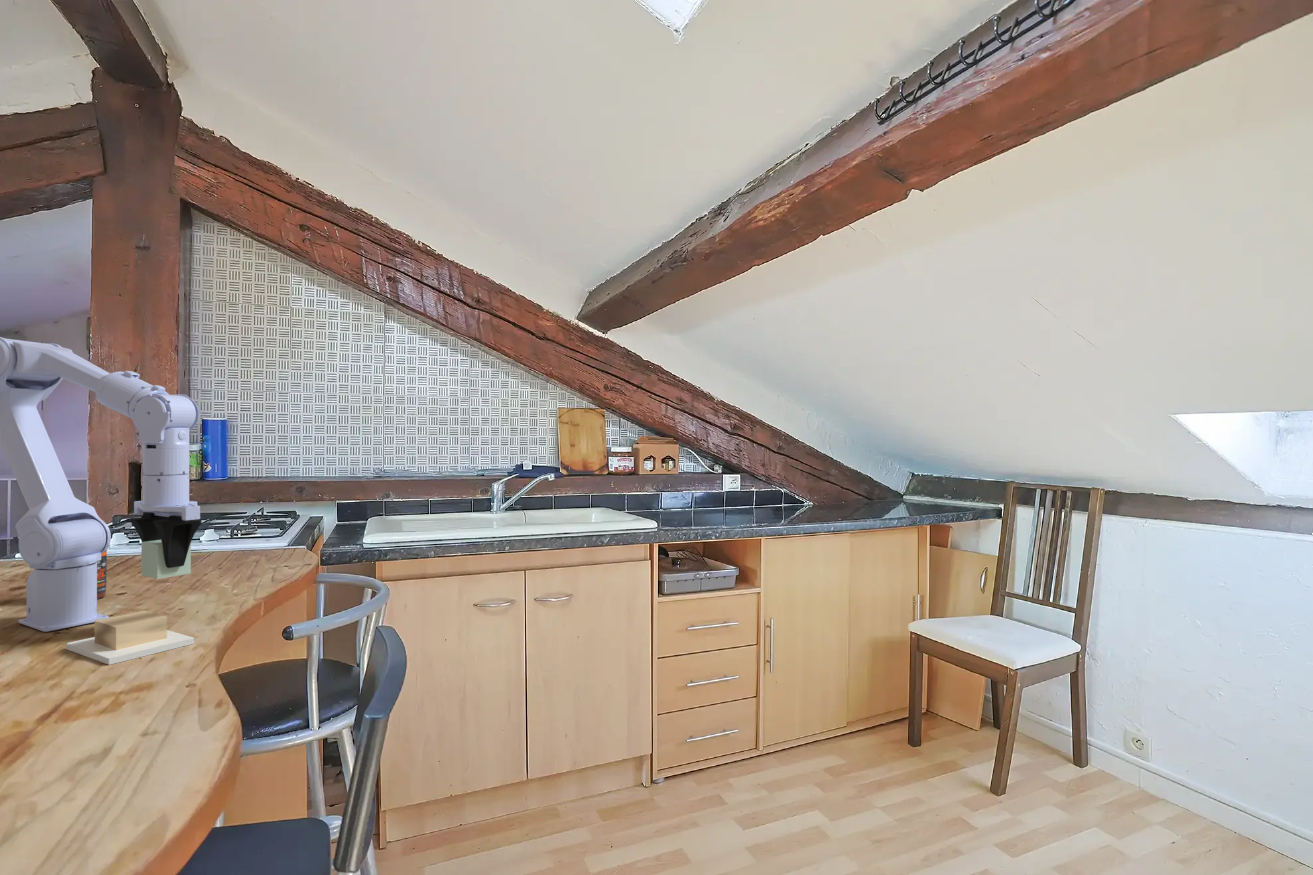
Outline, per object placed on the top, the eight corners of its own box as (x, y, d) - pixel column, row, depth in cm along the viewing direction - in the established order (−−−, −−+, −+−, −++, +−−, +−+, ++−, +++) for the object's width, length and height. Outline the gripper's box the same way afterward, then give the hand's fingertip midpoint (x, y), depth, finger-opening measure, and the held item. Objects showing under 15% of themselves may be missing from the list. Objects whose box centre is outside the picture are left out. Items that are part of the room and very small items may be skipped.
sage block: (141, 575, 101) (141, 542, 101) (174, 570, 105) (174, 537, 105) (157, 578, 99) (157, 544, 99) (190, 573, 103) (190, 540, 103)
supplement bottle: (80, 604, 115) (80, 537, 115) (52, 602, 116) (52, 535, 116) (115, 596, 121) (115, 532, 121) (88, 593, 122) (88, 530, 122)
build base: (66, 649, 92) (66, 621, 92) (150, 630, 101) (150, 604, 101) (109, 665, 86) (109, 635, 86) (194, 643, 95) (194, 616, 95)
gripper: (221, 474, 102) (221, 565, 102) (169, 471, 109) (169, 555, 109) (169, 477, 96) (169, 573, 96) (118, 473, 103) (118, 563, 103)
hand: (166, 564), depth 102 cm, fingers closed on sage block, 4 cm apart
